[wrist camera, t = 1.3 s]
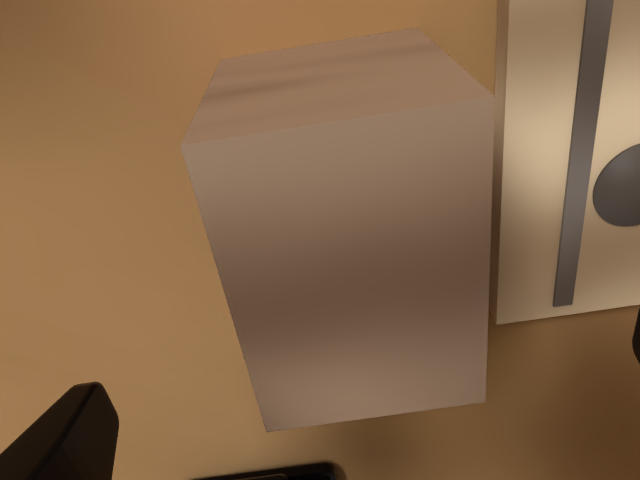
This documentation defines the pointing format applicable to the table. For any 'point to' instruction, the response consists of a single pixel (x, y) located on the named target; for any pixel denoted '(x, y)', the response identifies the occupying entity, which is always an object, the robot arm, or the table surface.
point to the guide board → (565, 159)
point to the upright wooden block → (350, 224)
